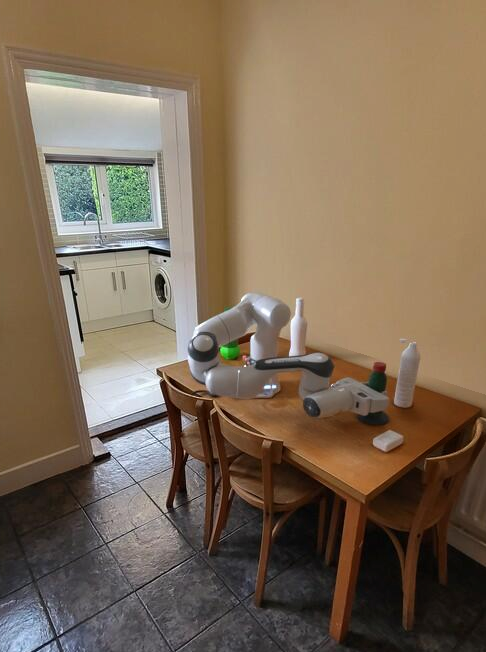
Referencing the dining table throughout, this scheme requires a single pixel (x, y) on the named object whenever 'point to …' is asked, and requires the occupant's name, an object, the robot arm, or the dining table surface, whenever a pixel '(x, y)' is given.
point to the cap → (379, 367)
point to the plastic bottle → (230, 347)
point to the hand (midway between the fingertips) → (378, 388)
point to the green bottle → (377, 386)
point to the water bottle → (407, 375)
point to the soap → (387, 440)
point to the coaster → (373, 419)
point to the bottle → (298, 330)
